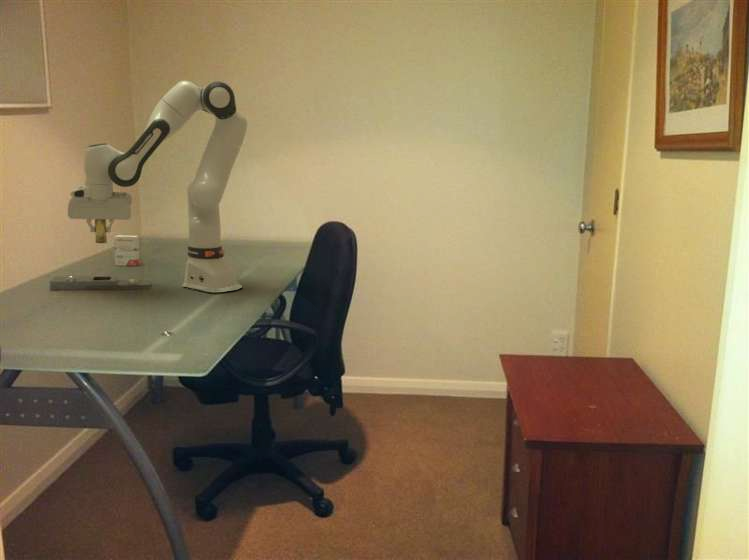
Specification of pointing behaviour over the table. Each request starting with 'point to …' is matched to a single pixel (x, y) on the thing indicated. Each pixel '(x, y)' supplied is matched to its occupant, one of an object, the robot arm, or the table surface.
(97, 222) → the brass pin
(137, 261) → the ink box
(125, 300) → the table surface
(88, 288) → the latch strike plate
